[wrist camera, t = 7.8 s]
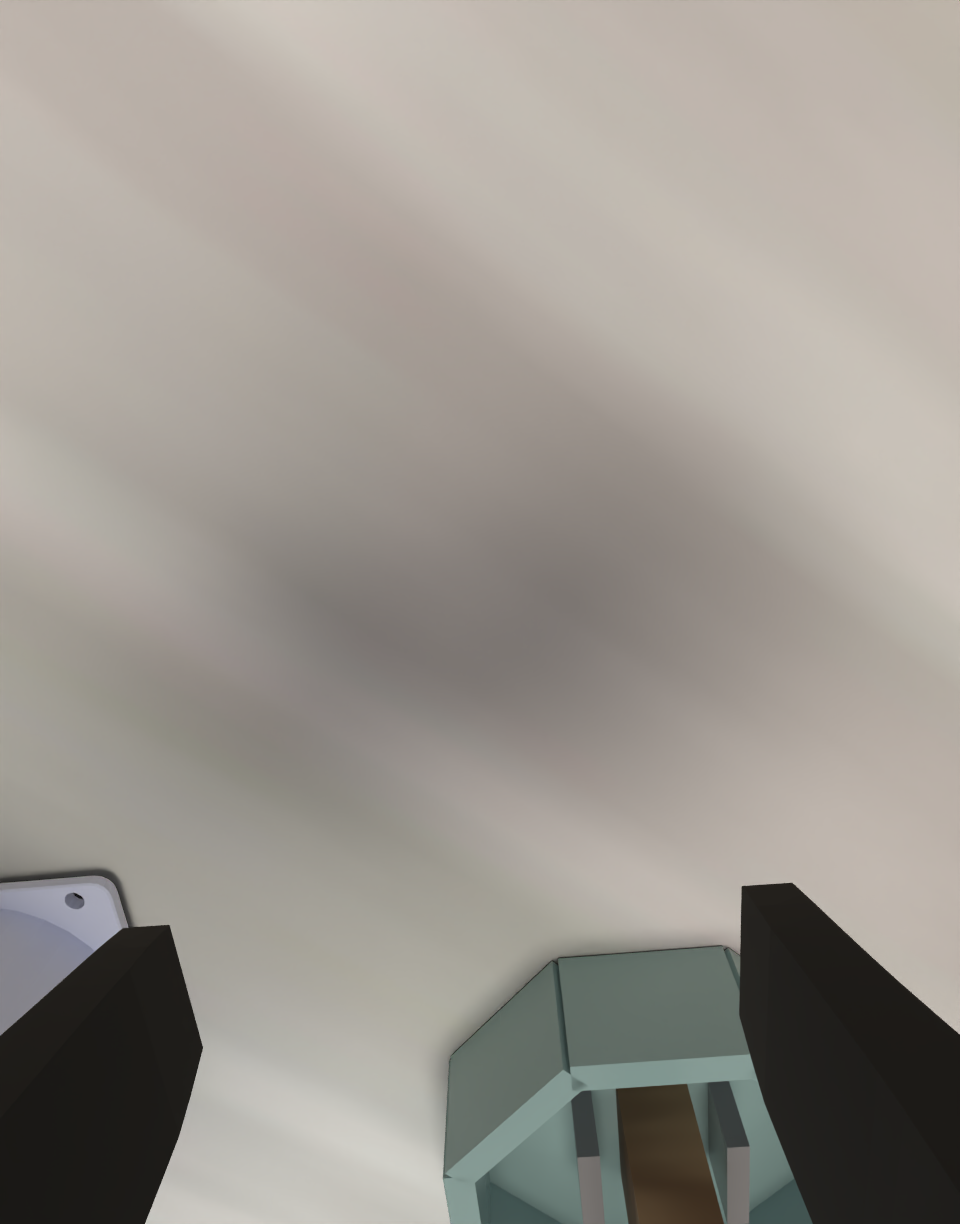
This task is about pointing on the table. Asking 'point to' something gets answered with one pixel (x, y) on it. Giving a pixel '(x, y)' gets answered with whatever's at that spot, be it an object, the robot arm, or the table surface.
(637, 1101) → the wooden block
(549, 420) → the table surface
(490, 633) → the table surface
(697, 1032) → the bowl
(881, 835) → the table surface
